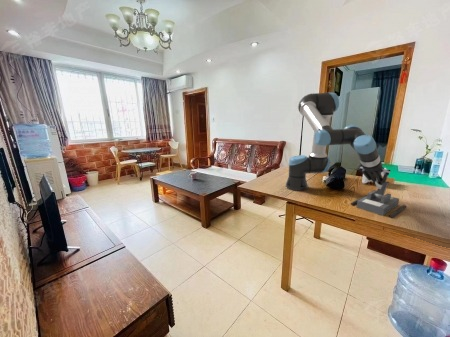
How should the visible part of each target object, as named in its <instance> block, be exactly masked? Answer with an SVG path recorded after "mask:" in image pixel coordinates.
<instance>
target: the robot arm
mask: <svg viewBox="0 0 450 337" xmlns="http://www.w3.org/2000/svg"><path fill="white" fill-rule="evenodd" d="M339 106H340V99H339V96H338V95H337V93H335V92H317V93H309V94H307V95H304V96H303V97H302V98H301V99H300V101H299V102H298V107H297V108H298V111H299V113H300V115H301V116H302V117H304V118H305V120H306V121H307V123H308V124H309V126H310V127H311V128H312V130H313V139H312V147H311V152H309V155H308V156H307V155H305V154H304V155H303V154H300V155H293V156H291V157H289V161H288V178H287V180H286V183H285V187H287V188H286V189H288V188H289V189H288V190H290V189H292V190H291V191H296V190H298V192H301V191H306V190H308V186H309V184H308V182H307V179H306V177H307V176H306V175H307V174H324V173H326V172H328V171H329V169H330V166H331V160H330V158H329V157H328V154H327V152H326V151H327V150H326V149H327V146H339V145H350V147H351V148H352V149H353V150H354V151H355V153H356V154H357V156H358V159H359V162H360V166H359V168H358V171H360V172H361V173H362V175H363V174H364V175H365V177H366V178H367V179H368V180H372V181H373V182H372V183H373V184H374V185H375V186H376V189H377V190H378V189H381V187H382V185H383V183H385V182H386V180H387V177H389V176H390V173H391V172H392V171H391V169H387V170H385V169H384V168H385V167H383V163H382V162H383V161H382V160H381V156H380V153H379V151H378V148H377V142H376V141H375V138H374V137H373V136H372V135H368V134H366V133H365V132H364V131H363V130H362V128H360V127H359V126H357V125H356V124H349V125H346V126H345V127H343V128H338V129H336V128H335V129H334V128H333V127H332V126H331V125H330V122H331V121H330V120H331V117H333V116H334V113H335V112H336V111H338V108H339ZM381 172H383V173H384V176H383V178H382V175H381ZM376 178H377V179H376Z"/></svg>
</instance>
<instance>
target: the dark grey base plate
mask: <svg viewBox="0 0 450 337" xmlns="http://www.w3.org/2000/svg"><path fill="white" fill-rule="evenodd" d="M367 195H368V194H366V195H364V196H362V197H358V199H355V200H354V201H352V202H350V206H353V205H355V204H357V201H358V200H360V199H362V198H364V197H366V196H367ZM406 208H407V205H405V204H403V205H402V206H400V207H399V208H397V209H396V210H395V211H393V212H392V213H391V214H390V215H389V217H390V218H392V219H393V218H395V216H397V215H398V214H399V213H400V212H402V211H404V209H406Z"/></svg>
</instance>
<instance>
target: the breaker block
mask: <svg viewBox="0 0 450 337" xmlns="http://www.w3.org/2000/svg"><path fill="white" fill-rule="evenodd" d="M376 192H377V190H376V189H375V190H374V189H373V190H372V191H370V192H368V193H367V194H366V195H367V196H366V197H364V198H362V199H360V200H358V201H357V203H356V208H358V209H361V210H363V211H367V212H370V213H373V214H376V215H379V216H385V215H386V214H388V213H389V212H390V211H391V210H393V209H395V208H396V207H397V206H399V203H400V198H399V197H394V196H392V193H385V194H384V196H382V197H381V199H379V198H375V197H374V194H375V193H376Z"/></svg>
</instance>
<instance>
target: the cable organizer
mask: <svg viewBox="0 0 450 337" xmlns="http://www.w3.org/2000/svg"><path fill="white" fill-rule="evenodd" d="M383 168H384V169H385V170H388V169H387V168H386V167H383ZM381 175H382V176H384V173H383V172H381ZM361 179H362V180H361V183H362V184H367V183H370V182H372V183H374V182H373V181H372V180H368V179H367V178H366V177H365V175H364V174H363V173H362V178H361ZM376 179H377V178H376Z"/></svg>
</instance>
